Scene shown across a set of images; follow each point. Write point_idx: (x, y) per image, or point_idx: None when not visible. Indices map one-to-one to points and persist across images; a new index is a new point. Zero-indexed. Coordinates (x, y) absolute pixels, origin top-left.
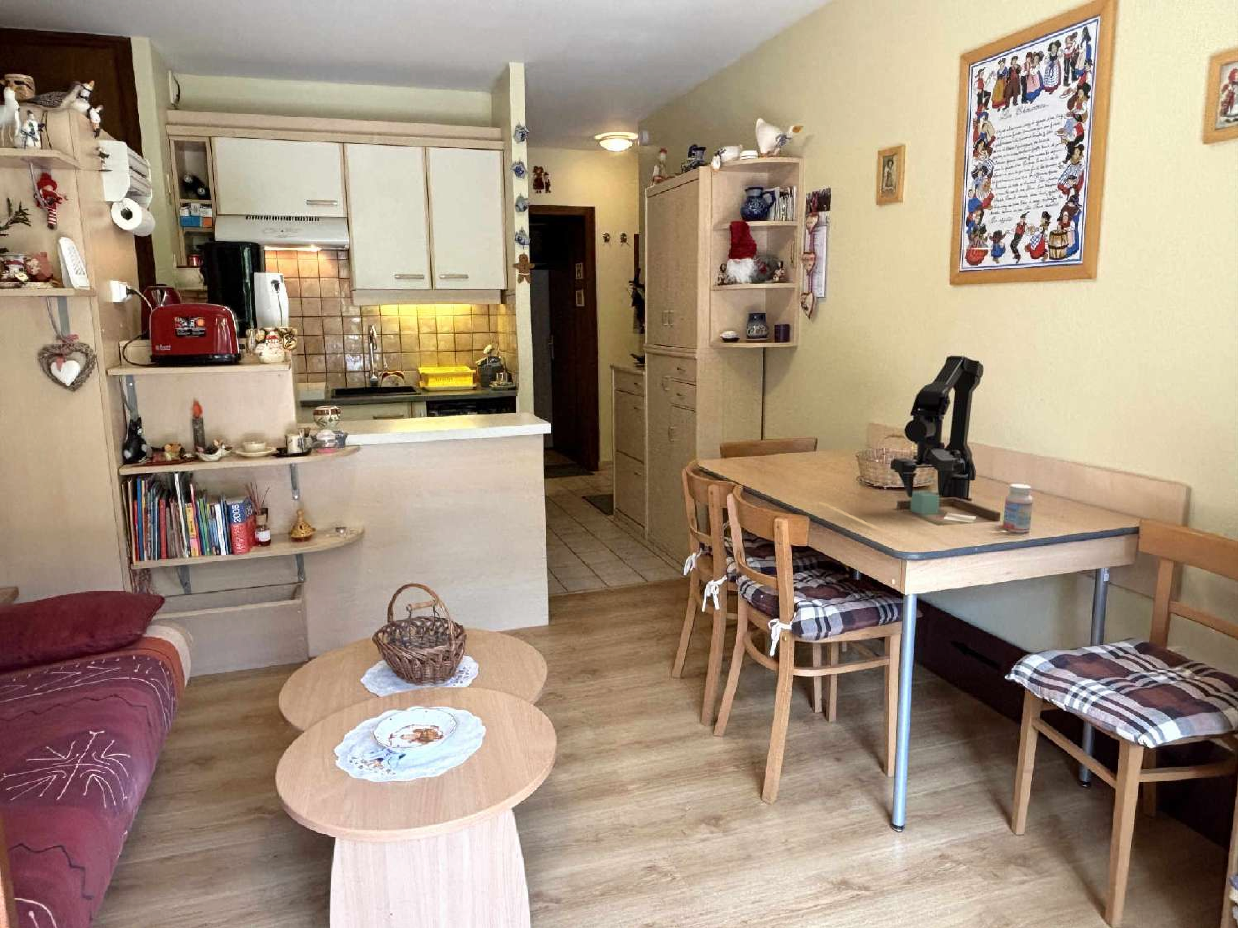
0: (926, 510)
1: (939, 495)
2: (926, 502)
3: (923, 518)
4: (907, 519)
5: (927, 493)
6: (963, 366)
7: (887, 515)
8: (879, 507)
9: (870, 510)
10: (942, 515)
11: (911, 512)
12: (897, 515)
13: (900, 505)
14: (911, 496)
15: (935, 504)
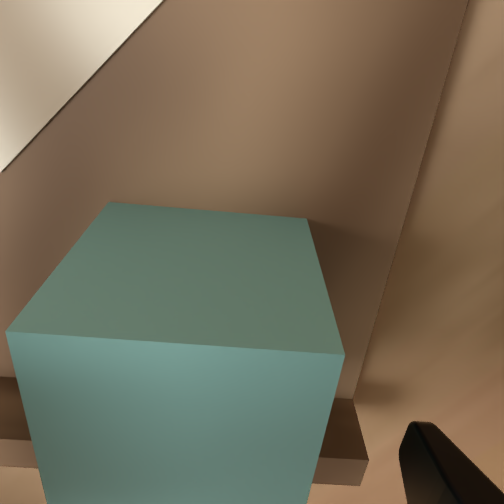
0: (250, 232)
1: (8, 328)
2: (261, 282)
3: (414, 75)
4: (471, 197)
5: (143, 448)
6: None
7: (499, 345)
8: (358, 494)
9: (477, 463)
10: (107, 119)
11: None
12: (428, 325)
13: (348, 427)
14: (423, 427)
15: (122, 252)
